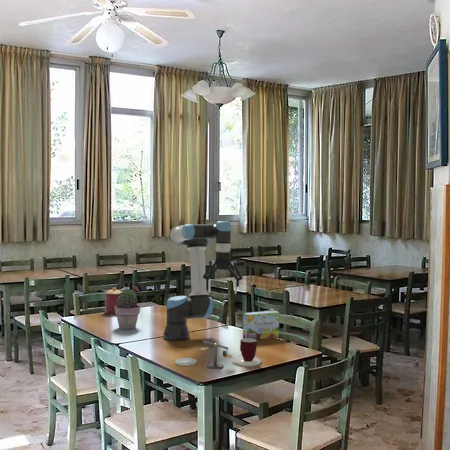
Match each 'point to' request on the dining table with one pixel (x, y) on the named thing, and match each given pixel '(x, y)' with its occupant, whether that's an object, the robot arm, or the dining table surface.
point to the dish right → (242, 362)
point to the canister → (111, 300)
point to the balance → (215, 365)
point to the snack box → (261, 325)
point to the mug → (248, 348)
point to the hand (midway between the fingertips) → (222, 292)
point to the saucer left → (185, 361)
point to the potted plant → (127, 309)
